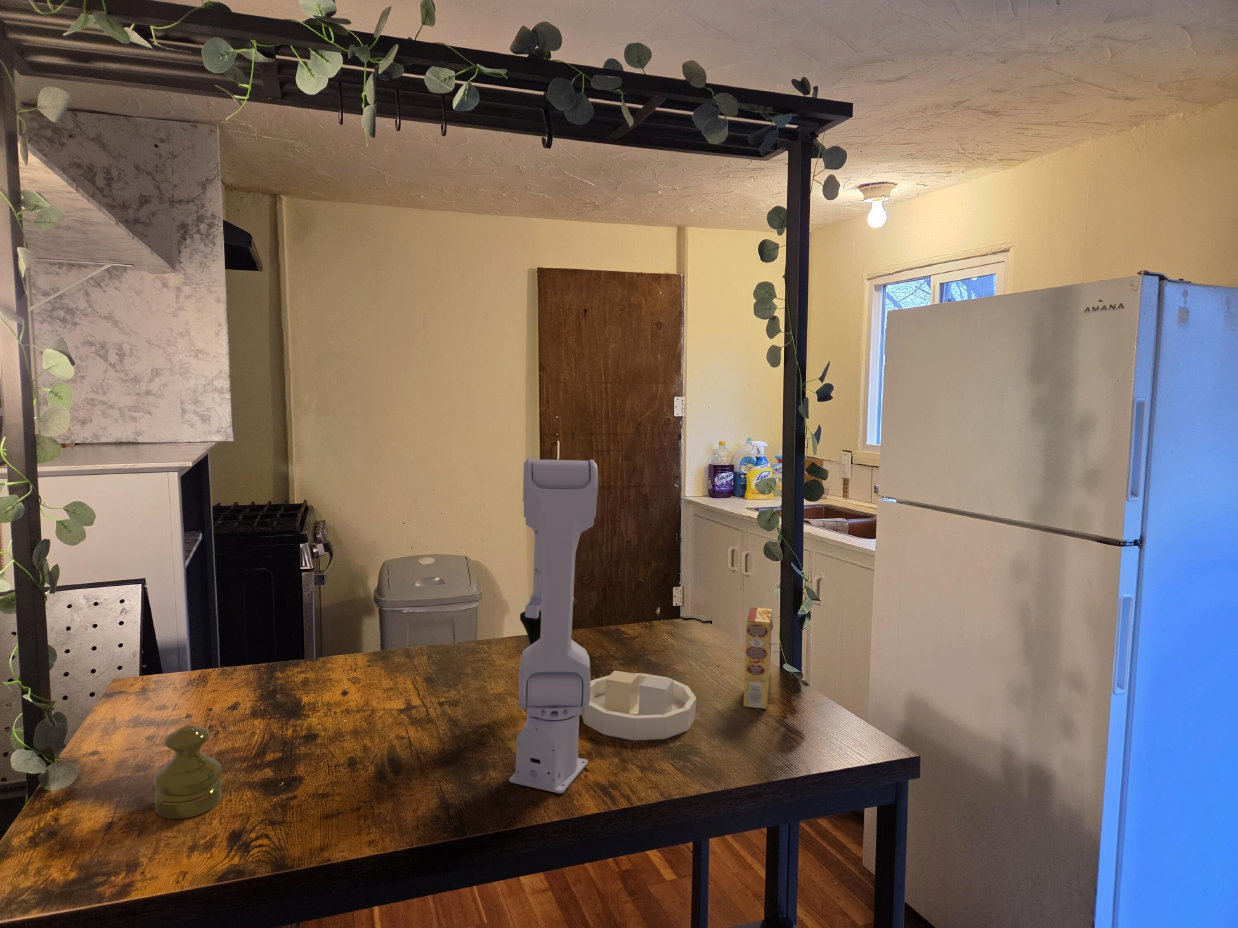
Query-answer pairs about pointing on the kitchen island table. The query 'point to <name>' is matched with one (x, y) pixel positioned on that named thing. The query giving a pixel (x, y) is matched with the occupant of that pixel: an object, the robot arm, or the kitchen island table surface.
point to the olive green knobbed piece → (187, 777)
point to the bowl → (636, 724)
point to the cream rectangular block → (621, 691)
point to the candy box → (757, 657)
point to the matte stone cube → (655, 696)
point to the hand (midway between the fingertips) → (548, 648)
